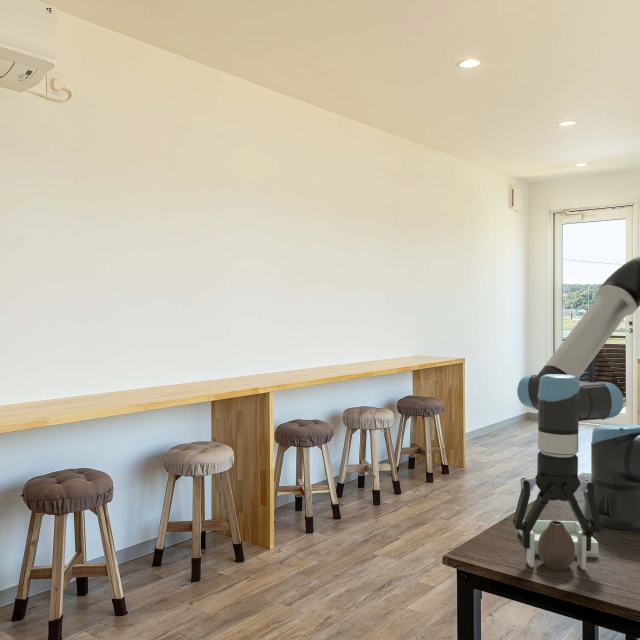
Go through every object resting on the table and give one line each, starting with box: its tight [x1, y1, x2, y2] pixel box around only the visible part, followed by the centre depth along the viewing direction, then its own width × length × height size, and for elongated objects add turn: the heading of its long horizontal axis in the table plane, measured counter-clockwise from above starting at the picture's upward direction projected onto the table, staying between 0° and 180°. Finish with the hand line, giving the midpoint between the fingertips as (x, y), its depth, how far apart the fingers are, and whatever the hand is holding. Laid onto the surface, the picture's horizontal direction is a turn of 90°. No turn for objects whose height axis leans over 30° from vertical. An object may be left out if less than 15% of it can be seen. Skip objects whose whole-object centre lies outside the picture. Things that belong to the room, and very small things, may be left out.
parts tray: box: [518, 519, 599, 558], centre depth 134 cm, size 13×13×3 cm
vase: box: [538, 520, 576, 571], centre depth 123 cm, size 7×7×9 cm
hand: (555, 565), depth 123 cm, fingers open, 9 cm apart
